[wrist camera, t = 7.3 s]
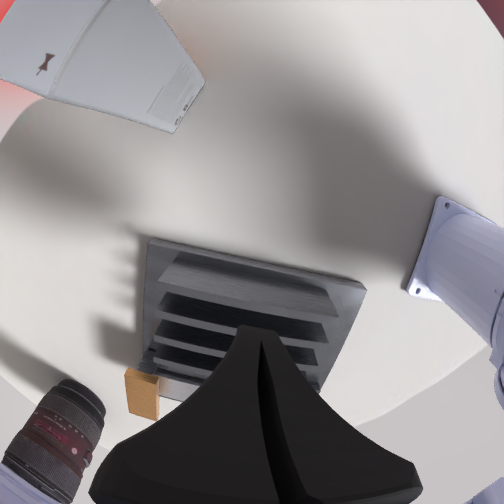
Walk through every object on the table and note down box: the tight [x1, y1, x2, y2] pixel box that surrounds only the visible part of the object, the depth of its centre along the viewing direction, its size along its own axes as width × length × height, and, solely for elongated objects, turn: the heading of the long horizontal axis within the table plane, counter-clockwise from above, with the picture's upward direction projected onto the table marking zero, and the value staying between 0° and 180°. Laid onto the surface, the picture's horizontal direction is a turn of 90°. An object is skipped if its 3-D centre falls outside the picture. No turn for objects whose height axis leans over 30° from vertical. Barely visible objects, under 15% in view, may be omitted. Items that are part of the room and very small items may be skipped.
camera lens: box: [1, 380, 106, 504], centre depth 17 cm, size 8×8×15 cm
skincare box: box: [0, 0, 205, 134], centre depth 9 cm, size 6×4×12 cm
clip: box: [137, 359, 206, 401], centre depth 18 cm, size 8×2×4 cm, turn 77°
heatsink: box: [124, 238, 367, 421], centre depth 18 cm, size 15×14×5 cm
